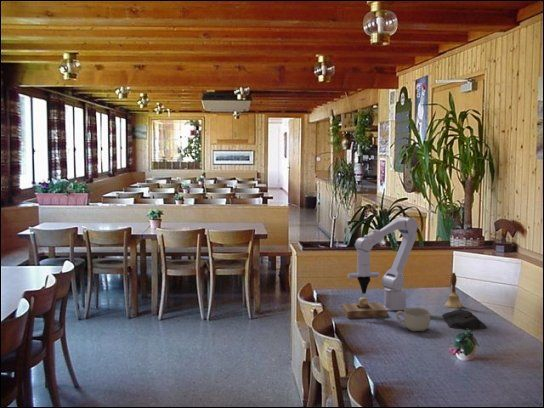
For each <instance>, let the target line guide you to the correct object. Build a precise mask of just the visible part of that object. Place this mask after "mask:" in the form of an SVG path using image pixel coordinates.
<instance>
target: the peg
mask: <svg viewBox="0 0 544 408" xmlns="http://www.w3.org/2000/svg"><path fill="white" fill-rule="evenodd" d="M358 303H359V307H360V309H364V308H368V303H369V298H368V297H366V296H363V297H359V301H358Z"/></svg>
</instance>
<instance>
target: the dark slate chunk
mask: <svg viewBox="0 0 544 408" xmlns="http://www.w3.org/2000/svg"><path fill="white" fill-rule="evenodd" d="M441 316H442V319H443V320H444V322H445V323H446V325H447V326H448V328H450V329H453V330H467V329H466V328H469V329H468V330H482V329H487V325H486V324H485V323H484V322H482V320H480V318H478V317H477V316H476V315H474V314H473V313H472V311H470V310H465V309H462V308H456V309H454V310H451V311H448V312H445V313H442V315H441Z"/></svg>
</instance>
